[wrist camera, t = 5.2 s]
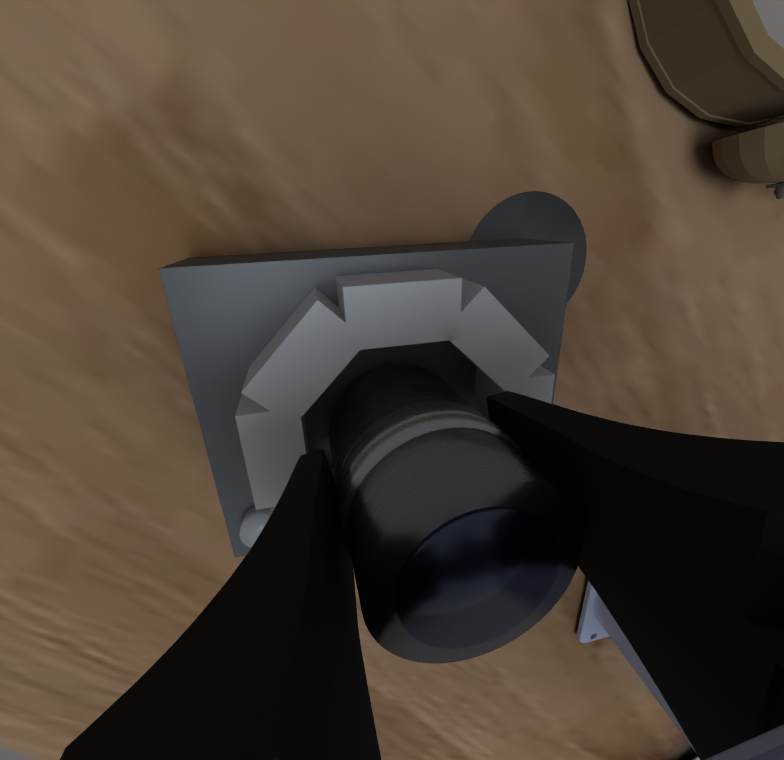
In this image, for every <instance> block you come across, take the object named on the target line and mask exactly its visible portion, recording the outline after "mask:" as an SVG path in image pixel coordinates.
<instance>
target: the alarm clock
mask: <svg viewBox="0 0 784 760" xmlns="http://www.w3.org/2000/svg"><path fill="white" fill-rule="evenodd" d="M629 4H630V8H631V12H632V16H633V21H634V25H635V29H636V33H637V37H638V41H639V45H640V49H641V51H642V53H643V54H644V56H645V58H646V59H647V61H648V63H649V64H650V66H651V68H652V70H653V71H654V73H655V75H656V76H657V78H658V80H659V81H660V83H661V85H662V86H663V88H664V90H665V91H666V93H667V94H669V95H670V96H671V97H673V98H674V99H675V100H676V101H678V102H679V103H680V104H682V105H683V106H684V107H686V108H687V109H688V110H690V111H691V112H692V113H693V114H695V115H696V116H697V117H699V118H700V119H704V120H709V121H713V122H718V123H723V124H727V125H732V126H737V127H742V126H746V125H751V124H756V123H761V122H765V121H770V120H775V119H779V118H783V117H784V0H629ZM712 146H713V156H714V161H715V163H716V165H717V167H718V168H719V170H721V171H722V172H723V173H724V174H725V175H727V176H729V177H730V178H732V179H735V180H739V181H742V182H749V183H776V184H772V185H766V188H771V187H775V191H774V194H775V196H776V198H777V199H781V198H784V122H782V123H778V124H774V125H770V126H766V127H762V128H758V129H754V130H751V131H747V132H743V133H739V134H736V135H732V136H729V137H725V138H722V139H719V140H716V141H713V142H712ZM780 182H781V183H780Z"/></svg>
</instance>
